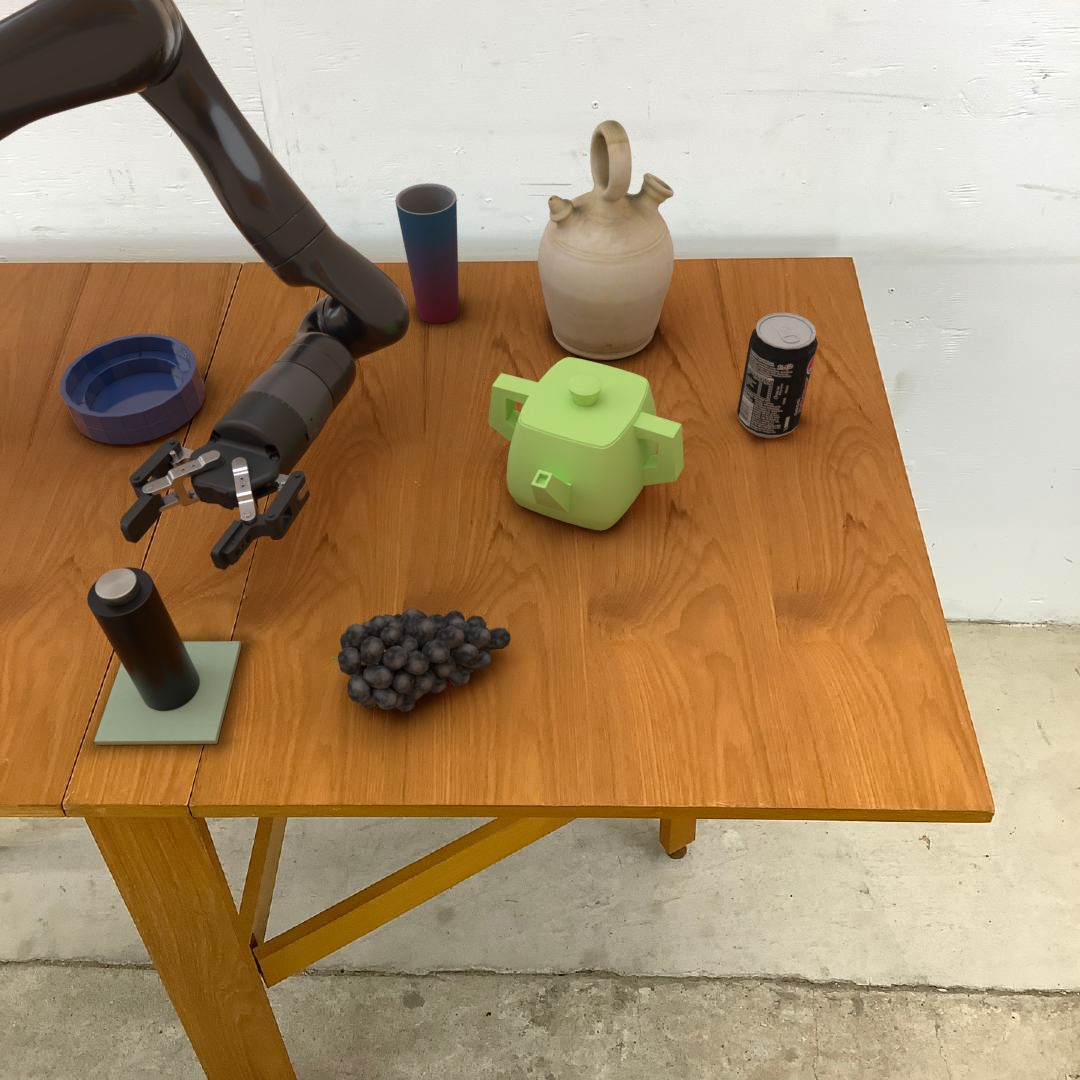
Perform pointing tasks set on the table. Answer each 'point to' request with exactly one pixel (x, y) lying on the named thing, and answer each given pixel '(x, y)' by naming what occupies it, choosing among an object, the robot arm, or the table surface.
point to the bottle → (144, 637)
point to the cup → (431, 248)
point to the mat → (183, 725)
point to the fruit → (414, 655)
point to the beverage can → (776, 374)
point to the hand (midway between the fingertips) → (171, 549)
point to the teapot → (583, 441)
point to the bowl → (133, 388)
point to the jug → (607, 256)
